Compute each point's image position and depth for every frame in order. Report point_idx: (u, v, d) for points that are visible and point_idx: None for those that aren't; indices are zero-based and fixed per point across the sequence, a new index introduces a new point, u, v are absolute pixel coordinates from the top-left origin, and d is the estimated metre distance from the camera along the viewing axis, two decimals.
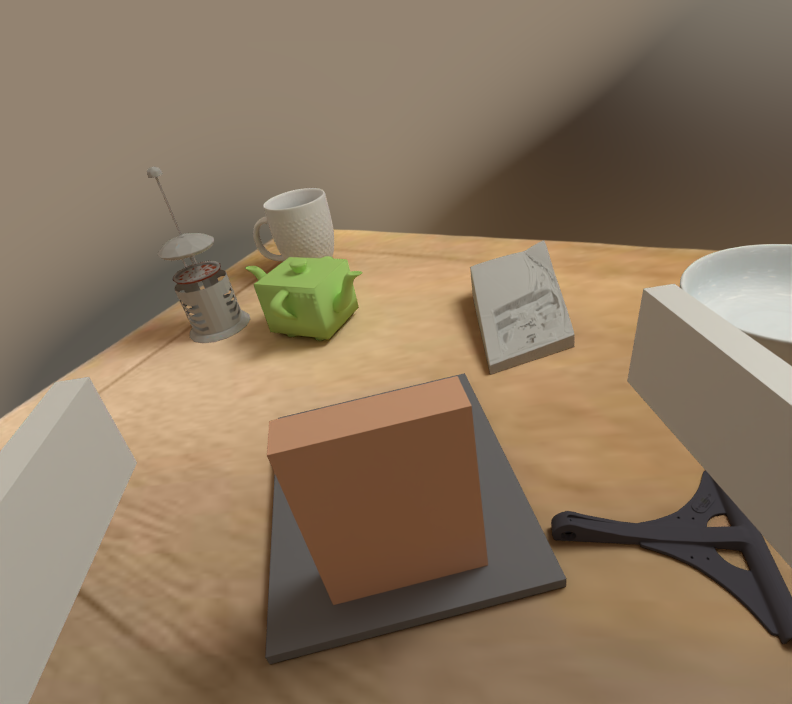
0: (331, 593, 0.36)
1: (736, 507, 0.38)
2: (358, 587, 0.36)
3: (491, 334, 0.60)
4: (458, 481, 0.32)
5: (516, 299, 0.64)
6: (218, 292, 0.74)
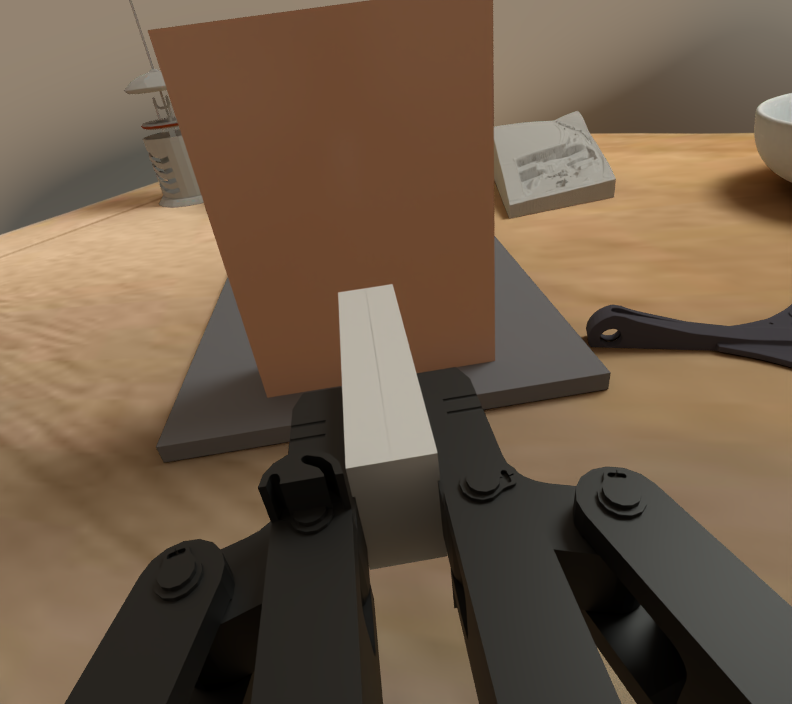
0: (264, 373, 0.25)
1: None
2: (304, 369, 0.25)
3: (512, 178, 0.49)
4: (462, 168, 0.20)
5: (544, 149, 0.53)
6: None
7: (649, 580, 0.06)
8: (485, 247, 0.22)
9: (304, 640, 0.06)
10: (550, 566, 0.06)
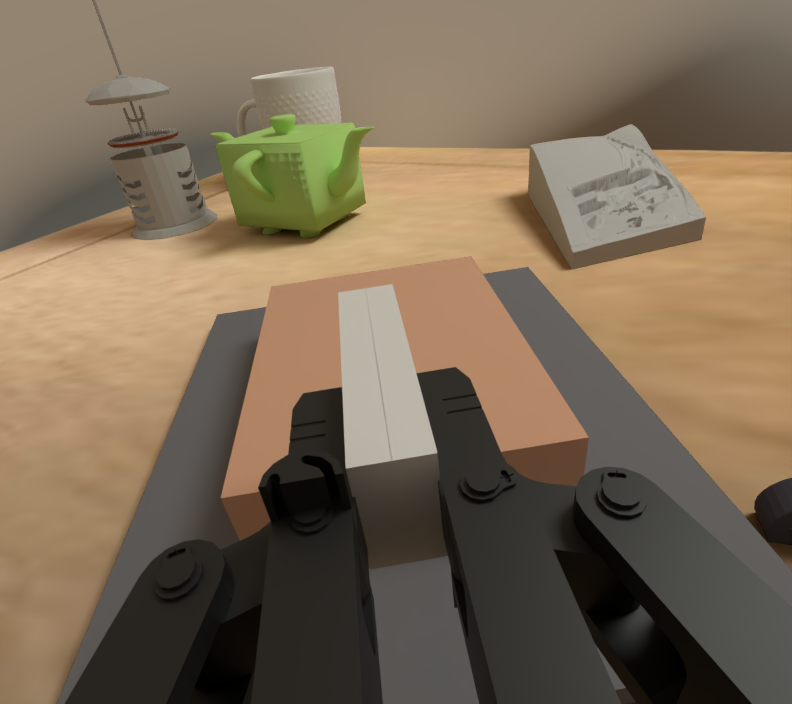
0: (235, 463, 0.17)
1: None
2: None
3: (571, 214, 0.39)
4: (473, 305, 0.24)
5: (605, 175, 0.42)
6: (170, 166, 0.52)
7: (649, 580, 0.06)
8: (515, 339, 0.21)
9: (304, 640, 0.06)
10: (550, 566, 0.06)
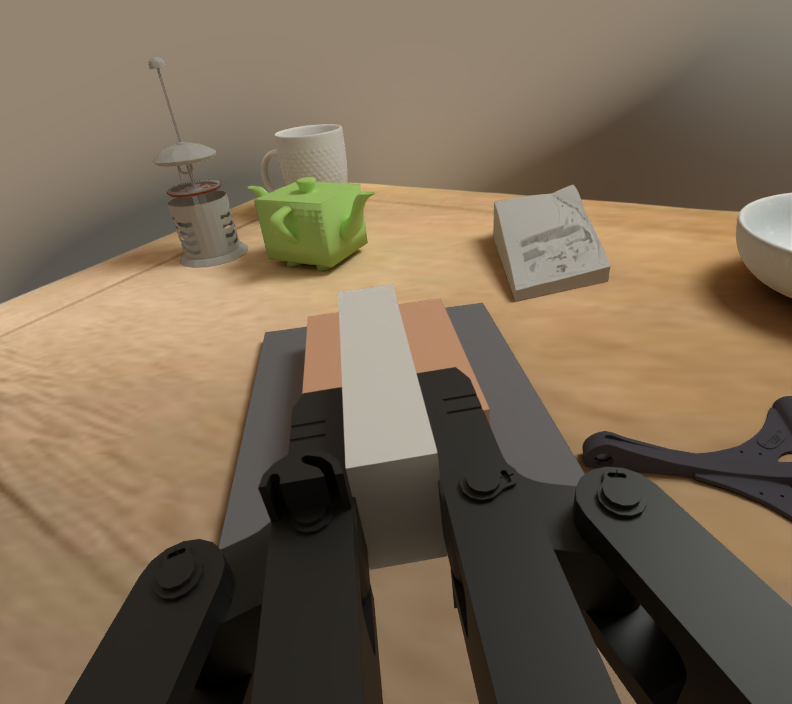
0: None
1: None
2: None
3: (517, 261, 0.54)
4: (438, 333, 0.39)
5: (545, 231, 0.58)
6: (215, 211, 0.67)
7: (649, 580, 0.06)
8: (460, 356, 0.36)
9: (304, 640, 0.06)
10: (550, 566, 0.06)
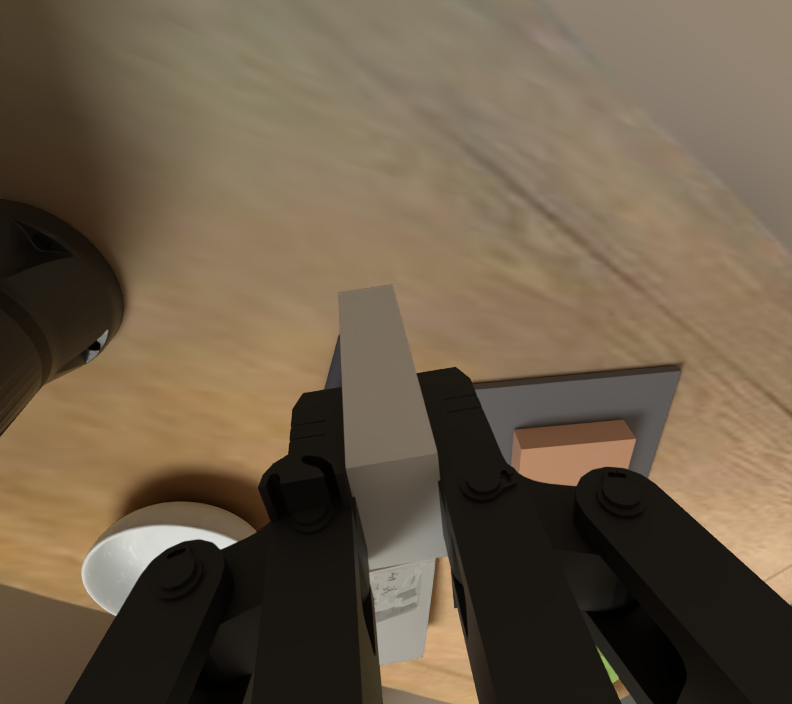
0: (631, 449, 0.52)
1: None
2: (612, 450, 0.52)
3: (426, 585, 0.67)
4: None
5: (393, 616, 0.69)
6: None
7: (649, 580, 0.06)
8: None
9: (304, 640, 0.06)
10: (550, 565, 0.06)
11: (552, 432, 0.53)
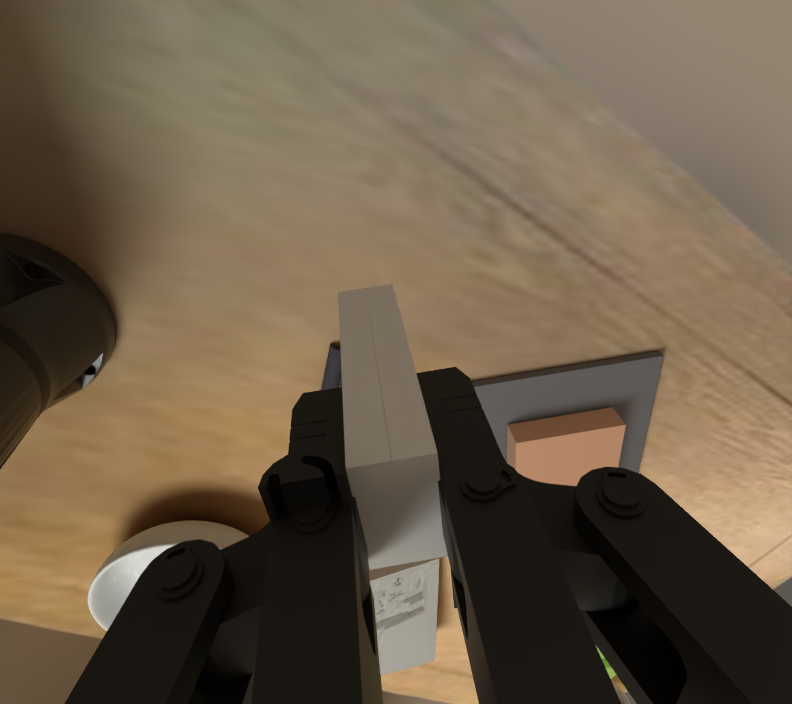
0: (621, 435, 0.54)
1: None
2: (604, 437, 0.53)
3: (432, 587, 0.68)
4: None
5: (401, 622, 0.69)
6: None
7: (649, 580, 0.06)
8: None
9: (304, 640, 0.06)
10: (550, 566, 0.06)
11: (544, 424, 0.54)
